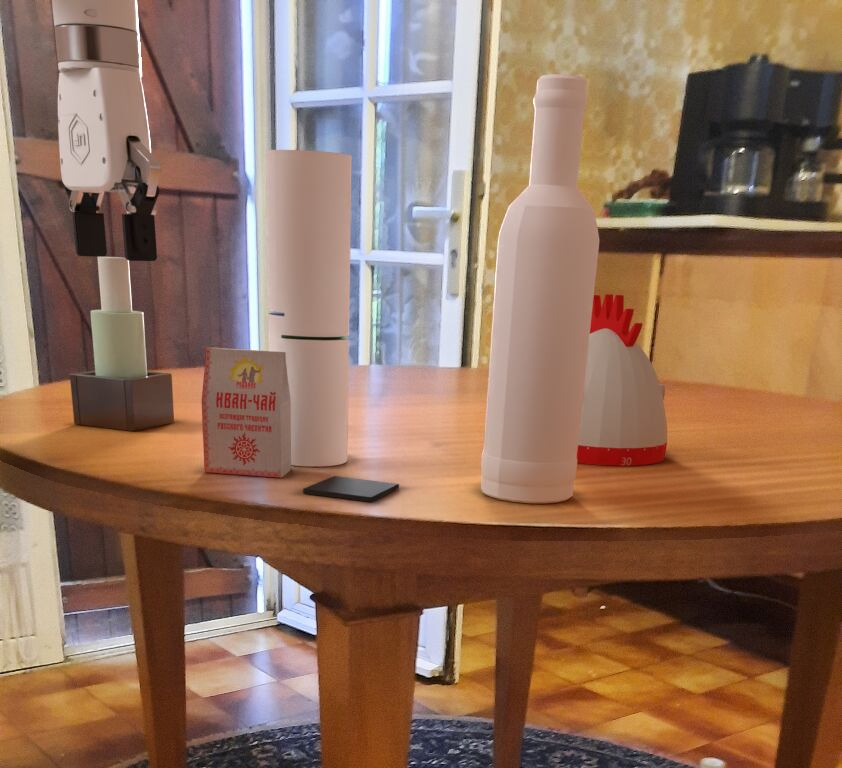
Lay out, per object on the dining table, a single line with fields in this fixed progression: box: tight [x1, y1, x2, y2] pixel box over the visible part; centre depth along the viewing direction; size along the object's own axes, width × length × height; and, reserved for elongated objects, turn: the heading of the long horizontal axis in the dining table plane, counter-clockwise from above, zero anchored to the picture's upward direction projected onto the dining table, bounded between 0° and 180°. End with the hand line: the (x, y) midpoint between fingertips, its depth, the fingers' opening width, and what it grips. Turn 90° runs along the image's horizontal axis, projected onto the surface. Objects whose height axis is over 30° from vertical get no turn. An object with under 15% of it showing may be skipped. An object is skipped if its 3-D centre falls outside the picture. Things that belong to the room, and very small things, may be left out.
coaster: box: [302, 475, 400, 503], centre depth 88 cm, size 6×6×1 cm
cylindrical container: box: [265, 149, 353, 468], centre depth 94 cm, size 7×7×25 cm
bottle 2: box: [480, 73, 600, 504], centre depth 84 cm, size 8×8×30 cm
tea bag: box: [201, 346, 292, 479], centre depth 91 cm, size 4×7×10 cm, turn 83°
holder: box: [69, 369, 175, 432], centre depth 112 cm, size 7×7×5 cm
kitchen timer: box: [577, 293, 668, 467], centre depth 107 cm, size 14×14×15 cm
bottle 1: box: [89, 256, 148, 379], centre depth 110 cm, size 5×5×16 cm
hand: (115, 258), depth 106 cm, fingers open, 9 cm apart
